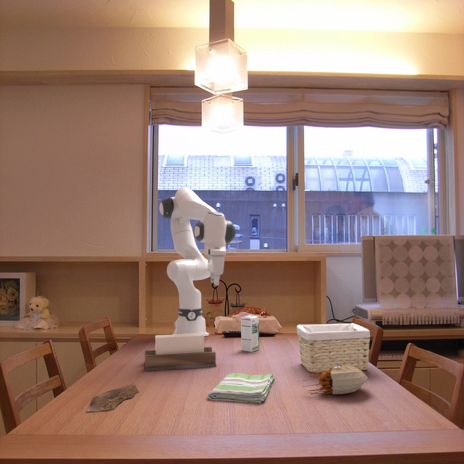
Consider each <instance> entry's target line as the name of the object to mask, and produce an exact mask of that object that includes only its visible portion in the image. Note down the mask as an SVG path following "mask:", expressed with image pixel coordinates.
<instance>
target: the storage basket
mask: <svg viewBox="0 0 464 464" xmlns="http://www.w3.org/2000/svg"><path fill="white" fill-rule="evenodd" d="M370 332H371V331H370V330H369V329H368V328H366V327H364V326H361V325H359V324H356V323H352V322H351V323H330V324H329V323H327V324H326V323H325V324H297V325H296V335H297V338H298V340H297V341H298V345H299V353H300V364H301V365H302V366H304V368H305V369H306V370H307V371H308V372H310V373H316V374H319V373H318V372H323V371H325V370H327V369H329V368H332V367H334V366H337V365H341V366H344V365H350V366H353V367H356V368H358V369H360V370H361V371H365V370H369V360H370V359H369V354H370V340H371V339H370V338H371V333H370Z"/></svg>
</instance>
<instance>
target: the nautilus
mask: <svg viewBox="0 0 464 464" xmlns="http://www.w3.org/2000/svg"><path fill="white" fill-rule="evenodd" d="M308 376H309V377H310V379H305V380H302V382H305V381H313V380H317V382H319V383H317V384H310V385H308V387H313V386H315V387H317V388H315V389H310V390H308V393H310V394H311V395H313V394H315V395H321V396H323V395H328V394H332V395H344V394H345V395H346V394H349V393H350V394H351V393H354V392H356V391H358V390H359V389H360V388H361V387H362V386H363V385H364V384H365V383H367V380H368V376H367V375H366V373H365V372H363V370H360V369H358V368H356V367H353V366H350V365H344V366H341V365H337V366H334V367H332V368H329V369H327V370H325V371H323V372H318V373H315V372H311V373H309V374H308ZM316 376H317V377H316ZM313 377H314V378H313ZM315 377H316V378H315ZM301 387H303V388H304V387H306V388H307V385H303V386H301Z"/></svg>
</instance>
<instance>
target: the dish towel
mask: <svg viewBox="0 0 464 464" xmlns="http://www.w3.org/2000/svg"><path fill="white" fill-rule="evenodd" d="M274 382H275V377H274V375H273V374H272V373H268V374H246V373H242V372H229V373H227V375H226V376H224V378H223V379H221V381H220V382H219V383H218V384H217V385H216V386H215V387H214V388H213V389H212V390H209V391H208V393H207V398H208V399H209V400H213V401H226V402H227V401H228V402H241V403H248V402H250V403H257V404H262V403H263V402H265V400H266V399H267V397H268V394H269V391H270V390H271V388H272V386H273V384H274Z"/></svg>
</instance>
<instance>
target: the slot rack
mask: <svg viewBox="0 0 464 464" xmlns="http://www.w3.org/2000/svg"><path fill="white" fill-rule="evenodd" d="M216 354H217V353H216V351H213V347H212V346H204V352H198V353H180V354H163V355H155V349H145V350H144V371H145V372H151V371H153V372H154V371H169V370H181V369H183V370H186V369H198V368H199V369H200V368H212V367H213V368H215V367H216V368H217V363H216V361H217V359H216V356H217V355H216Z"/></svg>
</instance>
